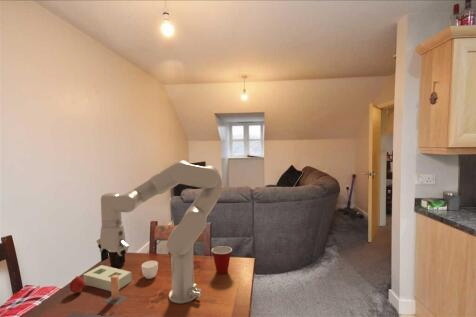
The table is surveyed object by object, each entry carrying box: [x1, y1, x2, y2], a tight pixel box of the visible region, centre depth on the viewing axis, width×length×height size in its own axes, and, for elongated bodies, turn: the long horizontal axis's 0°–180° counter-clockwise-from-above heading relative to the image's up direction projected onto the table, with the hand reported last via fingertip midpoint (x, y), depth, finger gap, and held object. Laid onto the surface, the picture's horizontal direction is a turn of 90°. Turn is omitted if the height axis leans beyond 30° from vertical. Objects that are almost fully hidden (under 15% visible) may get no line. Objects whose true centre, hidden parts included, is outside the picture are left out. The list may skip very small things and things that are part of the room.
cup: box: [141, 260, 159, 279], centre depth 130 cm, size 8×10×7 cm
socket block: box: [82, 264, 132, 292], centre depth 124 cm, size 20×10×5 cm, turn 68°
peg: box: [110, 275, 120, 301], centre depth 110 cm, size 3×3×10 cm
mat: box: [103, 294, 129, 306], centre depth 110 cm, size 8×6×1 cm
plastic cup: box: [211, 245, 233, 275], centre depth 133 cm, size 11×11×12 cm
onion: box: [69, 275, 86, 294], centre depth 116 cm, size 6×6×8 cm
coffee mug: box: [108, 247, 125, 269], centre depth 139 cm, size 12×9×10 cm
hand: (113, 261), depth 109 cm, fingers open, 9 cm apart
